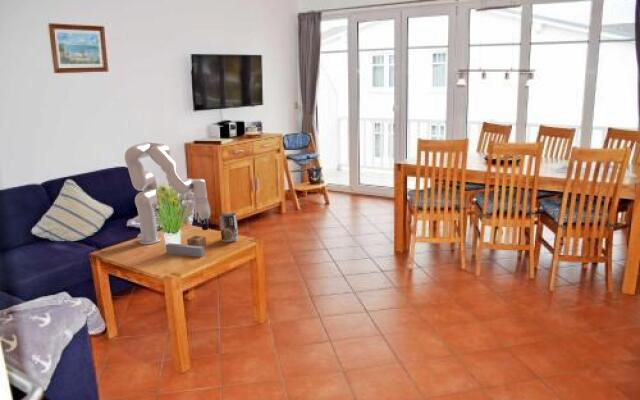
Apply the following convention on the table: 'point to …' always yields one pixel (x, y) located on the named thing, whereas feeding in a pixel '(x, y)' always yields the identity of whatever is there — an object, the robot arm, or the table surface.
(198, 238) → the walnut block
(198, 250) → the slate rail
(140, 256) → the table surface
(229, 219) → the coffee box
